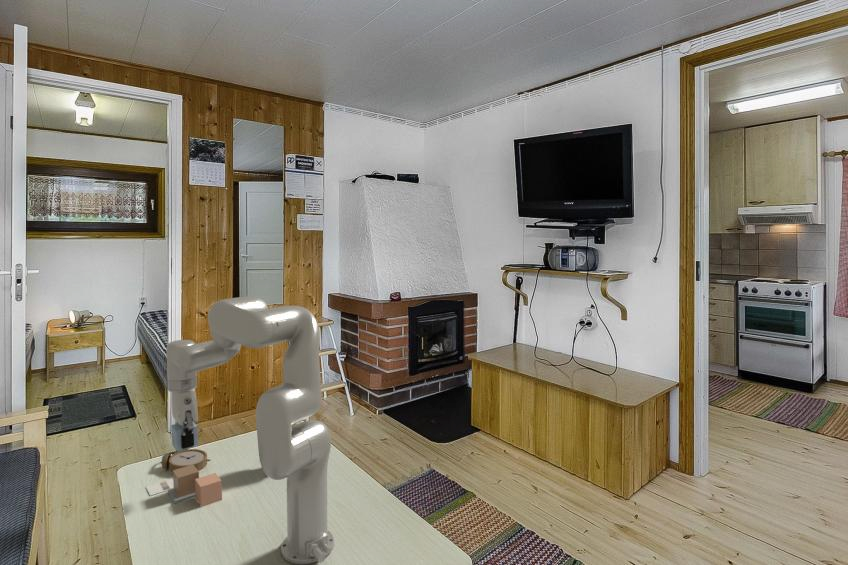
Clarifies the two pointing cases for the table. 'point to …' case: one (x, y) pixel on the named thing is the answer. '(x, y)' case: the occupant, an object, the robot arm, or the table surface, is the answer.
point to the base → (184, 484)
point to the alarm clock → (185, 459)
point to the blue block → (177, 436)
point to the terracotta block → (208, 489)
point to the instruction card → (160, 487)
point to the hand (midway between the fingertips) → (184, 442)
